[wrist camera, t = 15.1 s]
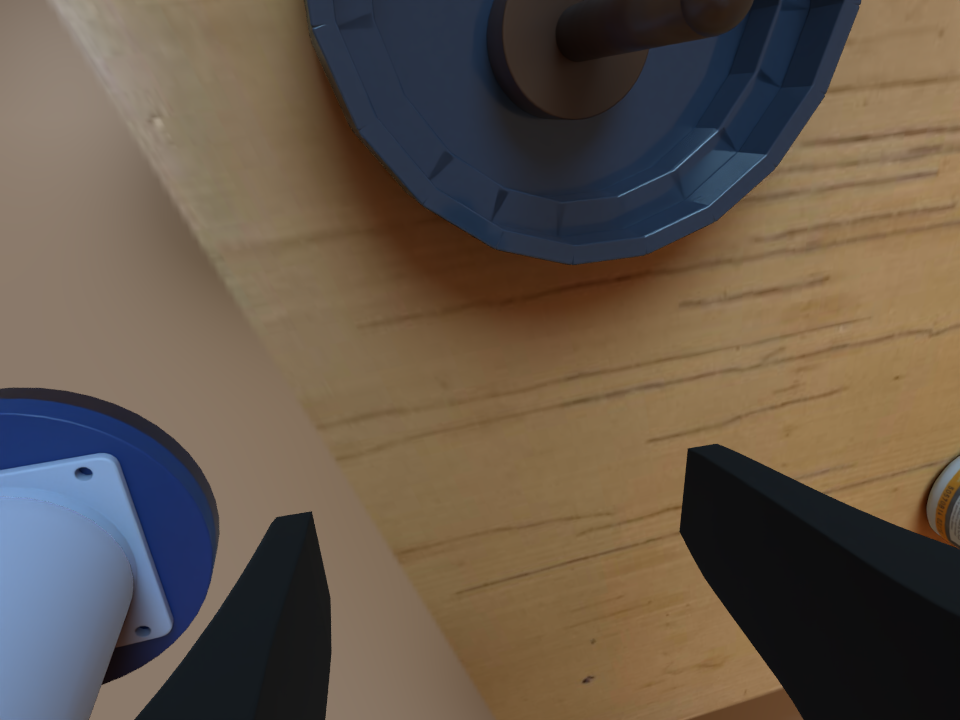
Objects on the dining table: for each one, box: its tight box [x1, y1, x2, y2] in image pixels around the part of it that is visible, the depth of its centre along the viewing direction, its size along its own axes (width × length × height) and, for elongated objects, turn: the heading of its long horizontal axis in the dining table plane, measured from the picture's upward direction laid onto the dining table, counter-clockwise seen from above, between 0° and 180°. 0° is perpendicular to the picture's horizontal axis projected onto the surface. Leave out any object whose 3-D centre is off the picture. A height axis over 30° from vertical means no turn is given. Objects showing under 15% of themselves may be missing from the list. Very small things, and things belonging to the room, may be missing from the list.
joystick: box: [487, 0, 754, 120], centre depth 14 cm, size 4×4×8 cm
